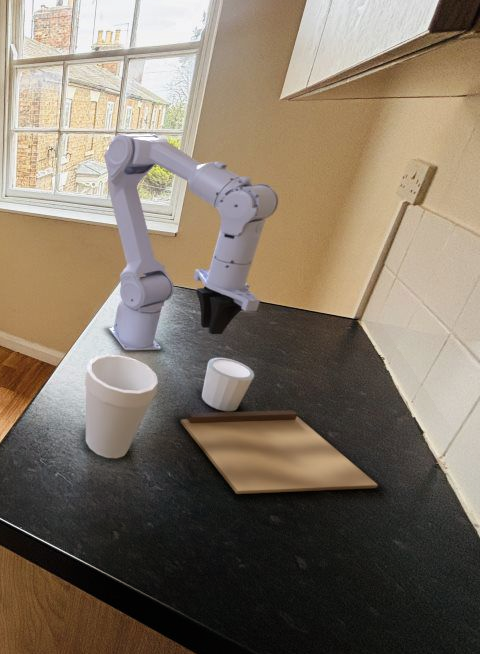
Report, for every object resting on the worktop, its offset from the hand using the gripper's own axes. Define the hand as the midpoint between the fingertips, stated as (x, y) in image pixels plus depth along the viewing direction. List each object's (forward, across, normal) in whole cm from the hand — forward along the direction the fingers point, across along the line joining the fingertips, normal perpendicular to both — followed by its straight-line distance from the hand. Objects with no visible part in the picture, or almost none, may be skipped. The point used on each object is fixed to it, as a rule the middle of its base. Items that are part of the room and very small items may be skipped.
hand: (211, 330), depth 74 cm
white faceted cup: (+11, -7, 0) cm, 13 cm away
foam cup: (+11, -16, +24) cm, 31 cm away
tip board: (+11, -19, 0) cm, 22 cm away
